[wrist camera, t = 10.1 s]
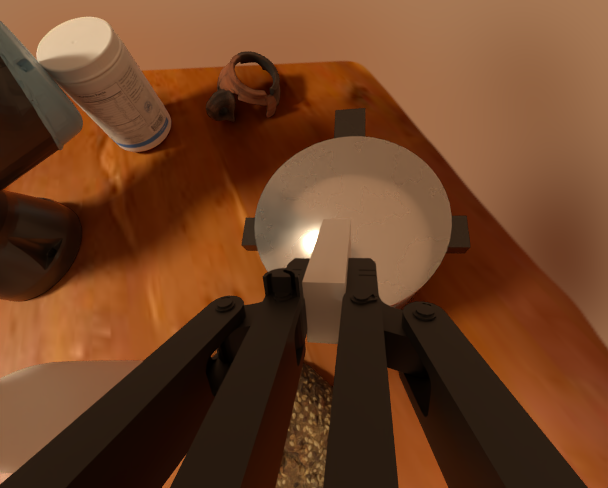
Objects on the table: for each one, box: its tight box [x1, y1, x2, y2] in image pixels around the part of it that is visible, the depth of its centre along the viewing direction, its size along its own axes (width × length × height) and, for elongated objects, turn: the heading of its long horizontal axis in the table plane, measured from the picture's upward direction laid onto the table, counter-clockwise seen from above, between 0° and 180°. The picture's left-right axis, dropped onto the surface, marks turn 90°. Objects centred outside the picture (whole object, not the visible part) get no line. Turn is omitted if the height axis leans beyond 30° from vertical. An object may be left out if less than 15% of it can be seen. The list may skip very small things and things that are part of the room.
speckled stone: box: [275, 363, 333, 488], centre depth 28 cm, size 13×12×5 cm
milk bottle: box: [0, 360, 143, 473], centre depth 25 cm, size 8×8×20 cm
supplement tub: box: [37, 17, 171, 152], centre depth 42 cm, size 10×10×15 cm
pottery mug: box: [206, 52, 280, 122], centre depth 45 cm, size 12×10×8 cm
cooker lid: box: [254, 108, 452, 307], centre depth 27 cm, size 20×17×1 cm
